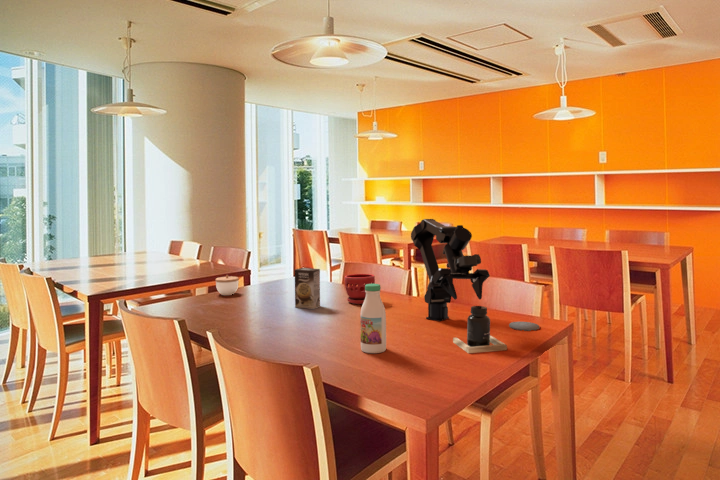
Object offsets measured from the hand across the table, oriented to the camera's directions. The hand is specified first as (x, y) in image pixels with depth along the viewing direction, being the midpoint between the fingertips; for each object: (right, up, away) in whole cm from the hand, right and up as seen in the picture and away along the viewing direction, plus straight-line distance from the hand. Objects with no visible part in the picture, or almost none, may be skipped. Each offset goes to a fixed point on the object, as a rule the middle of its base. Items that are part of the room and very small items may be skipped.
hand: (468, 298), depth 159 cm
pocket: (+1, -13, -8) cm, 15 cm away
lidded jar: (-99, -7, +78) cm, 126 cm away
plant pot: (-35, -8, +56) cm, 67 cm away
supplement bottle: (+1, -14, -8) cm, 16 cm away
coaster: (+22, -11, +13) cm, 28 cm away
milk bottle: (-31, -14, -11) cm, 36 cm away
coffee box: (-57, -9, +49) cm, 76 cm away
